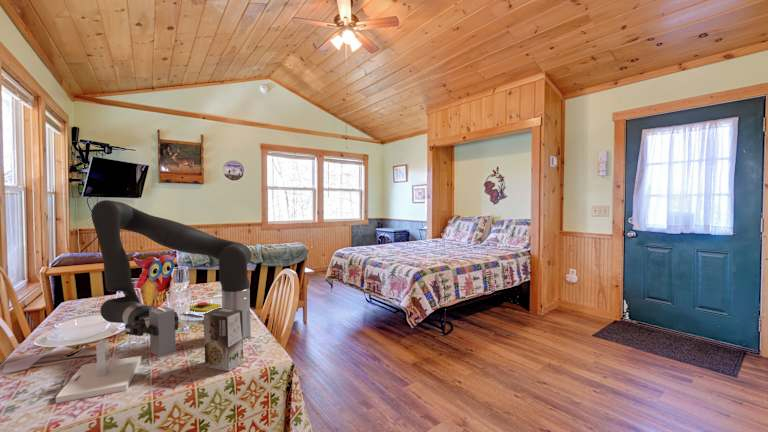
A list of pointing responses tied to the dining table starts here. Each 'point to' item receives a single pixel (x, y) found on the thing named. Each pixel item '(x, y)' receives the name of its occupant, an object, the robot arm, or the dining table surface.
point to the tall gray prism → (163, 331)
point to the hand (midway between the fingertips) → (166, 329)
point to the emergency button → (203, 307)
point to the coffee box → (223, 338)
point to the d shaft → (102, 358)
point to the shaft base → (99, 380)
